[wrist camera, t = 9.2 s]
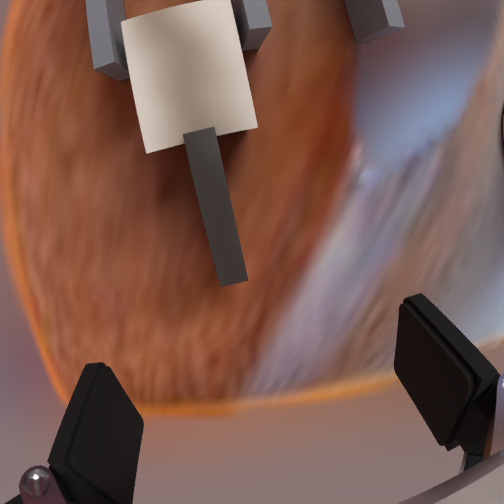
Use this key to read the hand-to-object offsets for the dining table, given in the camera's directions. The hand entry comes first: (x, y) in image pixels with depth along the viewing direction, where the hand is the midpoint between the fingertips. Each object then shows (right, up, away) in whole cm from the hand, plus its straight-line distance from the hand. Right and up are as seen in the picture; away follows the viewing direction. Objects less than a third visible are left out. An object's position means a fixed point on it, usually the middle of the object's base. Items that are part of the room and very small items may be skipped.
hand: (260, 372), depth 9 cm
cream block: (-3, +11, +11) cm, 16 cm away
